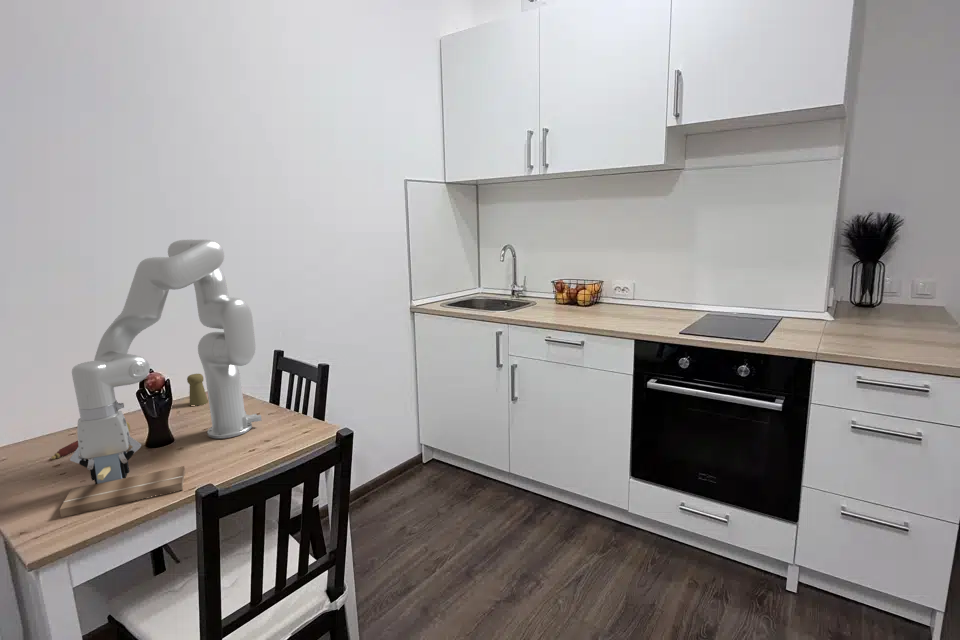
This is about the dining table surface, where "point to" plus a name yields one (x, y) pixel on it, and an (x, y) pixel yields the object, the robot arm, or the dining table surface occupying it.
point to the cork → (197, 390)
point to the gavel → (71, 448)
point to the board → (122, 491)
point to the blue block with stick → (107, 468)
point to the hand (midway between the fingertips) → (111, 478)
